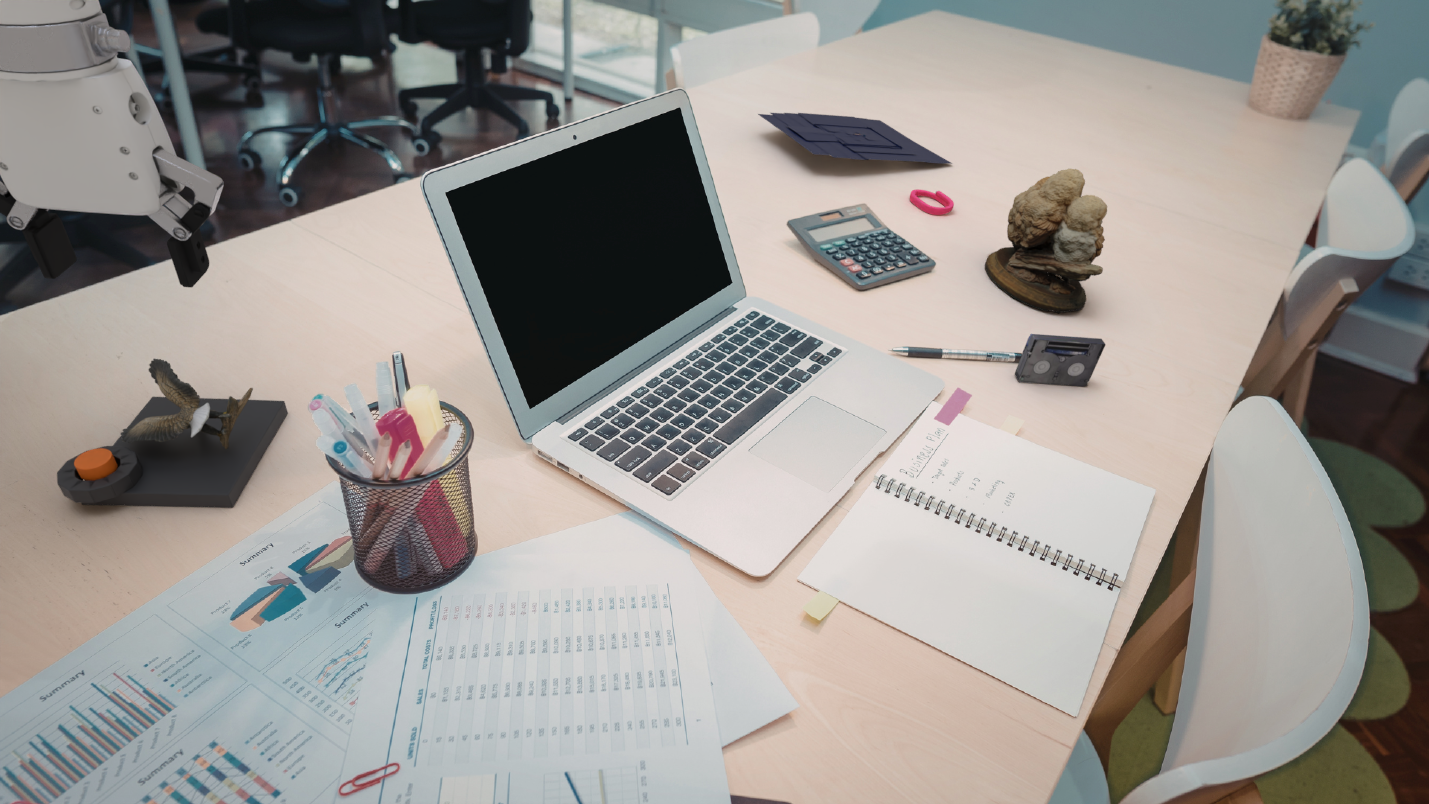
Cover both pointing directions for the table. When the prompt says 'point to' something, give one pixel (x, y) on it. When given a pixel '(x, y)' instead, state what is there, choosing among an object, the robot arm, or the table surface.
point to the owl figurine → (1051, 244)
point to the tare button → (95, 464)
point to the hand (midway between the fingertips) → (129, 274)
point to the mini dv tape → (1059, 360)
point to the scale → (182, 461)
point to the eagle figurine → (182, 411)
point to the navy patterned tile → (850, 137)
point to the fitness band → (937, 196)
